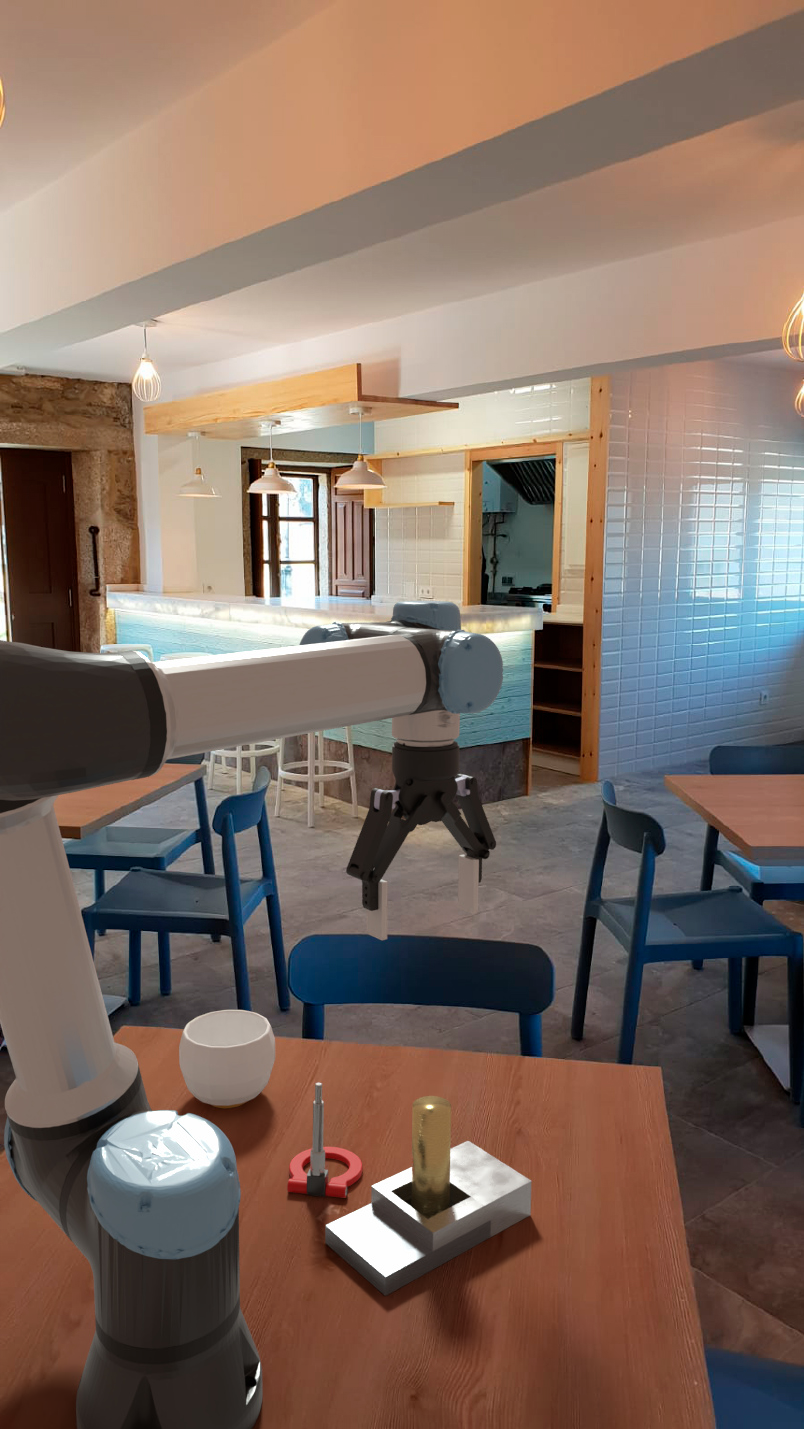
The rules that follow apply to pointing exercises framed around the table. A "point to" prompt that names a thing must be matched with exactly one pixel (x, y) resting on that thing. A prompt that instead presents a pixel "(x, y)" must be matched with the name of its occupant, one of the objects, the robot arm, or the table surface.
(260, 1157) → the table surface
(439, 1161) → the pin
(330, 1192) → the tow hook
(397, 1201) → the square hole base
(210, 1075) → the cup
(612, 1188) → the table surface
